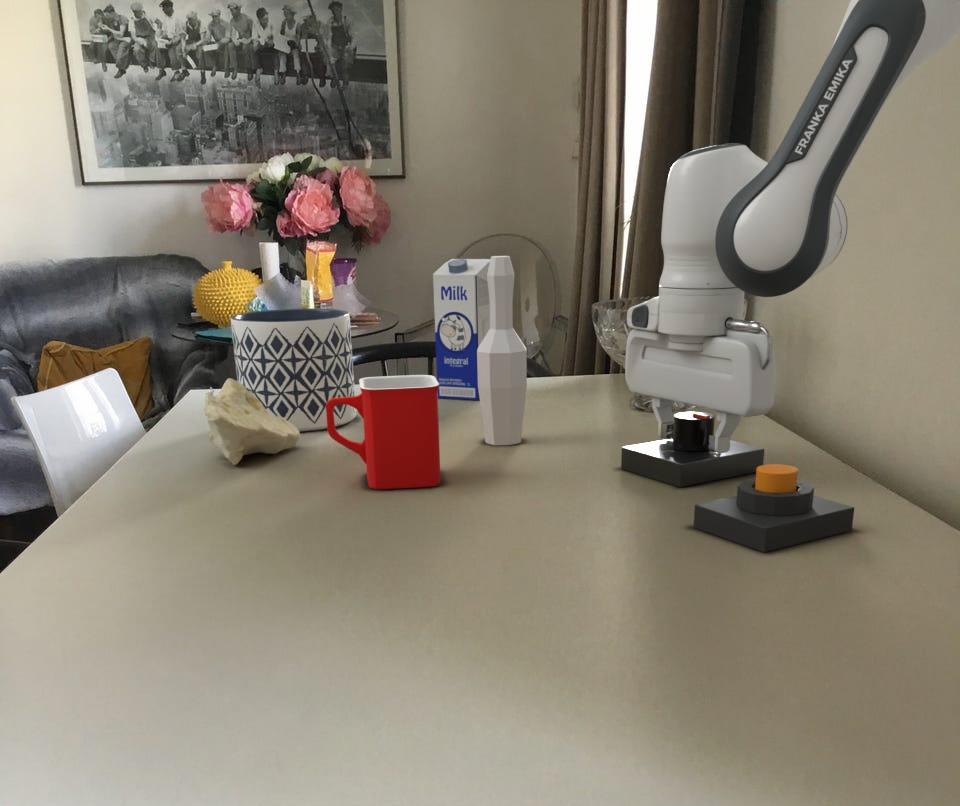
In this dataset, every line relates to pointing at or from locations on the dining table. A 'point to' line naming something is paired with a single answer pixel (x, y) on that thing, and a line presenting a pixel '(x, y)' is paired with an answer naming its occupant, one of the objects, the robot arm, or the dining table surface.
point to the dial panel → (689, 462)
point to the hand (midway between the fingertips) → (692, 444)
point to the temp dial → (692, 431)
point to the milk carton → (460, 324)
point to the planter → (296, 363)
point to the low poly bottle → (502, 361)
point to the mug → (395, 430)
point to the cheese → (245, 424)
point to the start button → (776, 478)
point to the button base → (773, 517)
